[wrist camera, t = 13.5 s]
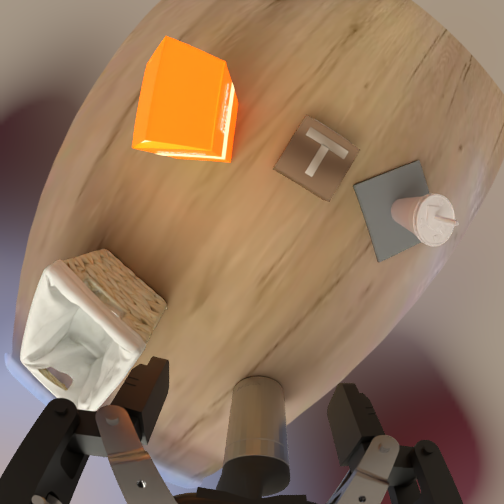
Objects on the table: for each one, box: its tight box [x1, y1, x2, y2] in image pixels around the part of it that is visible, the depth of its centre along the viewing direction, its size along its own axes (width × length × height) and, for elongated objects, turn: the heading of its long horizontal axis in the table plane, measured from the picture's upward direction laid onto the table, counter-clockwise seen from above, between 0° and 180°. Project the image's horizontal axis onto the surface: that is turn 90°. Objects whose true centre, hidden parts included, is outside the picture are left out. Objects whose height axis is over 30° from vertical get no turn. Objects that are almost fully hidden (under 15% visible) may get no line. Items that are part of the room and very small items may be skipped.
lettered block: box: [273, 115, 360, 202], centre depth 34 cm, size 8×8×4 cm
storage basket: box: [20, 249, 168, 411], centre depth 36 cm, size 24×16×15 cm
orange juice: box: [132, 36, 238, 163], centre depth 25 cm, size 8×9×20 cm
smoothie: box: [391, 193, 459, 247], centre depth 29 cm, size 6×6×14 cm
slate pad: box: [353, 160, 429, 262], centre depth 36 cm, size 12×12×1 cm
